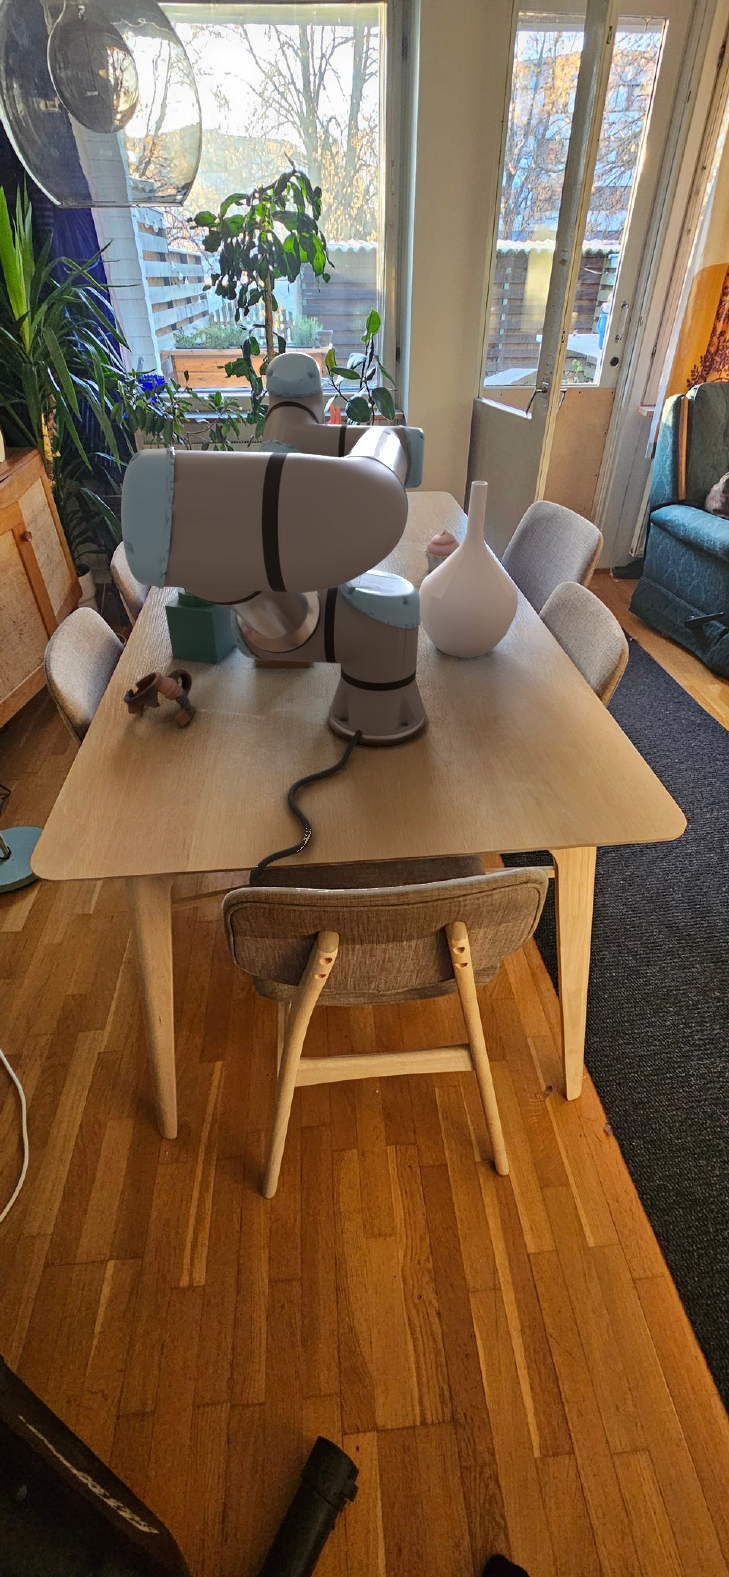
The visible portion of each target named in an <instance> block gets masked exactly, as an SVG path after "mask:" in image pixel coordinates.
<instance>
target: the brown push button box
mask: <svg viewBox="0 0 729 1577" xmlns="http://www.w3.org/2000/svg"><path fill="white" fill-rule="evenodd" d="M254 665H255V667H256V668H275V667H276V668H299V667H301V668H303V667H304V668H305V667H306V668H308V667H309V668H310V667H312V662H302V661H281V660H268V661H262V660H258V659H255V658H254Z"/></svg>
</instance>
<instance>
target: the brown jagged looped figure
mask: <svg viewBox="0 0 729 1577" xmlns="http://www.w3.org/2000/svg"><path fill="white" fill-rule="evenodd" d="M179 679H180V681H181V685H180V683H179ZM134 685H135V687H136V688H137V690H136V691H135V692H134V690H133V688H129V690H127V692H126V693H125V695H124V696H123V702H124V704H126V705H127V712H128V714H130V715H137V716H139V717H143V710H144V709H145V707H148V708H152V709H157V708H160V707H161V703H160V702H159V696H158V695H159V694H161V695H163V696H164V697H165V699H166V700H169V701H175V702H176V703H177V704H178V705H179V707H180V709H179V711H178V712H177V713H176V714H175V715H174V719H175V720H176V721H177V722H178V724H179V725H180V727H184V726H185V725H186V724H187V723H188V722H189V721H190V720H191V719H192V717H193V715H194V709H193V707H192V705H191V702H190V699H189V694H190V693H191V689H192V685H193V679H192V676H191V674H190V673H189V671H188V670H187V669H185V668H176V669H174V670H172V671H171V672H170V673H169V674H168V675H166V676H163V674H162V673H161V672H160V671H157V670H156V671H153V672H150V673H149V674H146V675H145V676H144V677H142V678H141V679H140V680H138V681H137V682H136V683H135V684H134Z"/></svg>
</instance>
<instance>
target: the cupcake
mask: <svg viewBox="0 0 729 1577" xmlns="http://www.w3.org/2000/svg"><path fill="white" fill-rule="evenodd" d="M459 546H460V543H459V541H458V540H457V539H456V537H455V535H454V534H453V533H452V532H451V531H449V530H446V529H443V530H442V531H441V532H440V533H438V534H435V535H434V536H433V537H432V539H430V541H429V542H428V543H427V545H426V548H425V549H423V552H424V555H425V558H426V560H427V567H428V571H429V574H430V573H431V572H433V571H434V570H435V569H436V568H437V567H438V566H440V565H441V564H442V563H443V562H444V561H445V560H446V559H447V558H448V557H449V556H450V555H451V554H452V553H453V552H454V551H455V550H456V549H457V548H458V547H459Z"/></svg>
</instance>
